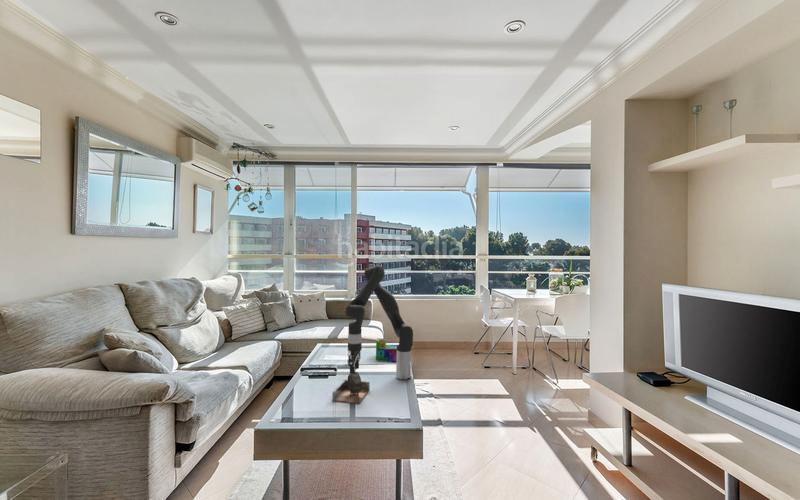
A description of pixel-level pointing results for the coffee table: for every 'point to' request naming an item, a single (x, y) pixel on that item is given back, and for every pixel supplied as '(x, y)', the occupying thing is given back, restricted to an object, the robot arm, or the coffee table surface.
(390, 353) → the block puzzle
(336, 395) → the corner walls
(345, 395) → the walnut plate
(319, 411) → the coffee table surface
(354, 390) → the alarm clock
